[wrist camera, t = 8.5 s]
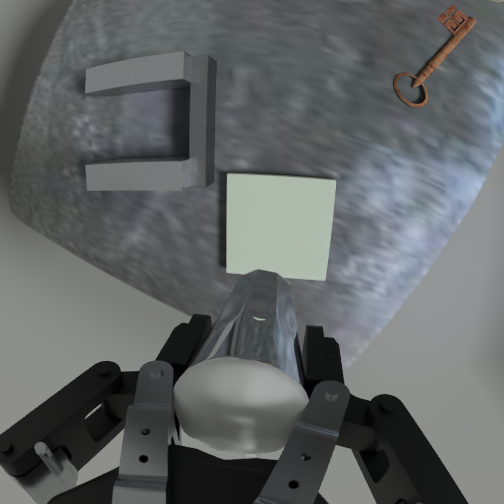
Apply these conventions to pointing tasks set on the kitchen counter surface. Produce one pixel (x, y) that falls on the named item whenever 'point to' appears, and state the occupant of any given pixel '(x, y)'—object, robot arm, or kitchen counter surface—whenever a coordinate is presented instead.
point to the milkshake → (246, 372)
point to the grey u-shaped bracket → (200, 133)
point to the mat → (279, 224)
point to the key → (434, 63)
